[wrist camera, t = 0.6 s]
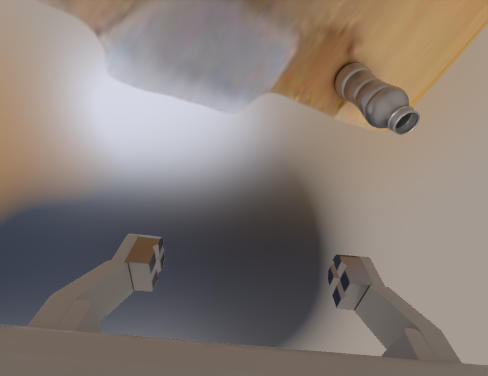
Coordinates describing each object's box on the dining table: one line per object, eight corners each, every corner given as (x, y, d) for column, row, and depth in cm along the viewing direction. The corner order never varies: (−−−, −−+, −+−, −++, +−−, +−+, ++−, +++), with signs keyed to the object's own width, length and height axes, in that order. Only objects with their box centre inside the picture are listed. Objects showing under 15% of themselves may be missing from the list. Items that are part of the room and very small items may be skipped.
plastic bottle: (368, 61, 49) (441, 102, 34) (354, 95, 53) (412, 144, 38) (339, 57, 47) (401, 98, 33) (326, 92, 52) (375, 142, 37)
